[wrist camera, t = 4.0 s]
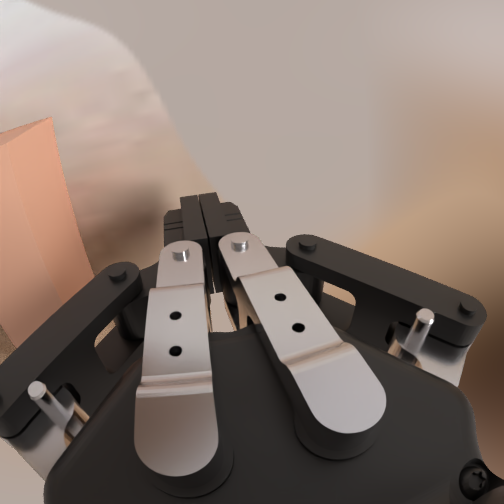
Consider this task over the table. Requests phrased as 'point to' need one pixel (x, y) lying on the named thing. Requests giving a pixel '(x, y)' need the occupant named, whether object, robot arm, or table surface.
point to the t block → (36, 232)
